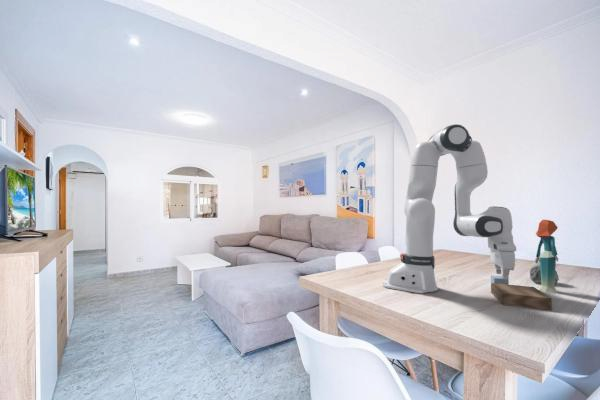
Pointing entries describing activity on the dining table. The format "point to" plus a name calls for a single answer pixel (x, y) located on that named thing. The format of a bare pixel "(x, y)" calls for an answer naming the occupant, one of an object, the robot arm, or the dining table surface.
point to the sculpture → (547, 255)
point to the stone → (539, 275)
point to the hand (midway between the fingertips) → (501, 276)
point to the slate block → (499, 280)
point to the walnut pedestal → (521, 296)
